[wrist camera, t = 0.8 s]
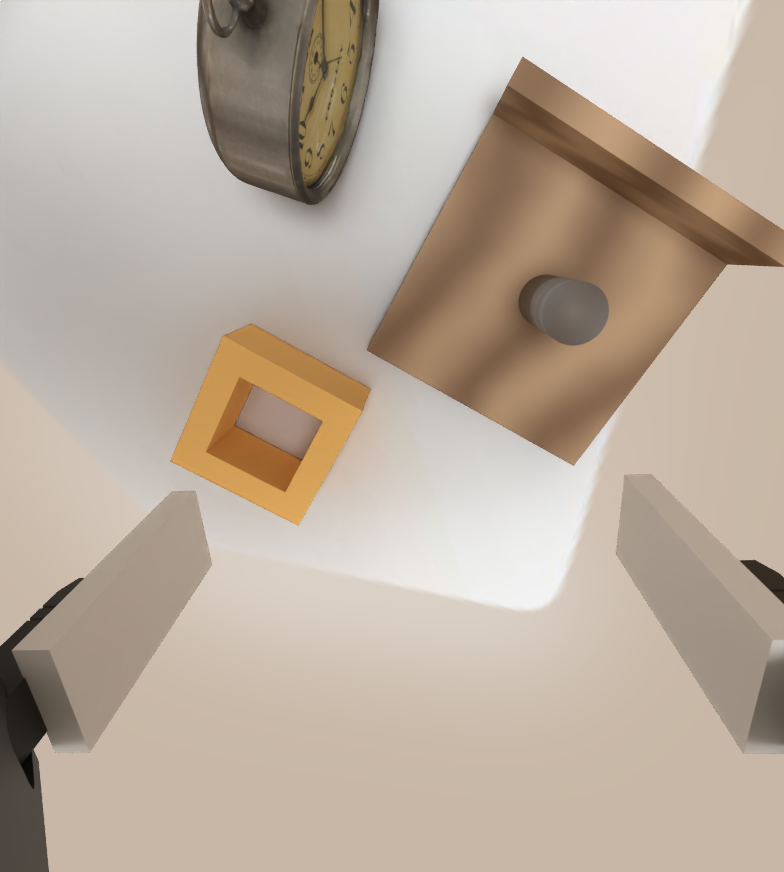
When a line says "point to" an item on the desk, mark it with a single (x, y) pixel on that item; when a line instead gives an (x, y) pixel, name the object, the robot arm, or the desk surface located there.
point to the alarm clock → (285, 88)
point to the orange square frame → (250, 456)
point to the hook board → (562, 266)
